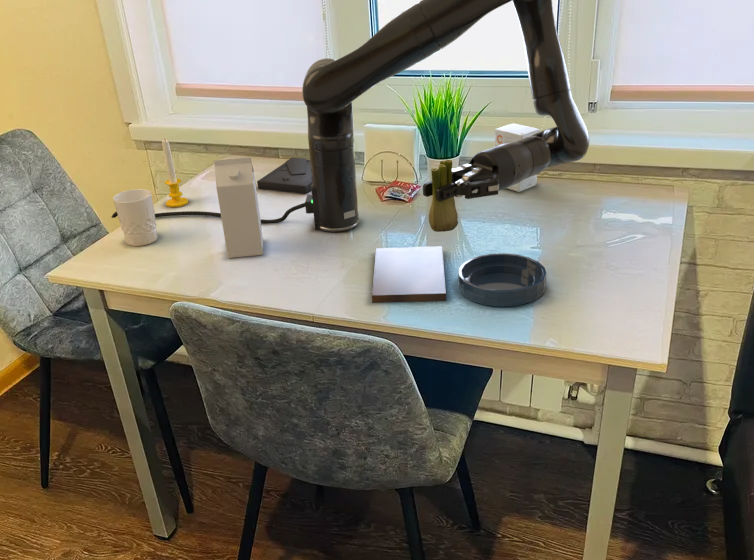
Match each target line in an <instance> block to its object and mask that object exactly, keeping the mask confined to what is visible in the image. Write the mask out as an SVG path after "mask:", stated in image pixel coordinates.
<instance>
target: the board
mask: <svg viewBox="0 0 754 560" xmlns="http://www.w3.org/2000/svg"><path fill="white" fill-rule="evenodd" d="M443 251H444V250H443V245H437V246H435V245H434V246H406V247H405V246H404V247H376V248H375V253H374V254H375V255H374V264H373V265H374V266H373V276H372V286H371V287H372V288H371V303H372V304H376V303H377V304H379V303H381V304H382V303H384V304H385V303H415V302H423V303H424V302H446V301H447V288H446V278H445V277H446V275H445V274H446V273H445V262H444V252H443Z"/></svg>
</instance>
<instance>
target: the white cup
mask: <svg viewBox="0 0 754 560" xmlns="http://www.w3.org/2000/svg"><path fill="white" fill-rule="evenodd" d="M112 201H113V204H114V207H115V210H116V211H115V212H117V214H118V216H117V218H118V221H119V224H120V228H121V230H122V233H123V236H124V240H125V243H126V244H127V245H129V246H133V247H143V246H146V245H147V246H148V245H150V244H152V243H154V242H156V241H157V240H158V238H159V237H158V231H157V222H156V219H157V218H156V217H155V214H156V213H155V207H154V206H155V205H154V202H153V196H152V191H150V190H149V189H145V188H133V189H127V190H123V191H120V192H117V193H116V194H115V195H113V197H112Z"/></svg>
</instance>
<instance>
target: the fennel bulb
mask: <svg viewBox="0 0 754 560" xmlns="http://www.w3.org/2000/svg"><path fill="white" fill-rule="evenodd" d="M452 168H453V161H452V159H446V160H440V161H439V164H438V168H435V167H434V168H430V169H431V170H430V173H431V181H432V189H433V195H432V200H431V204H430V208H429V211H428V223H429V226H430V228H431V230H432V231H434V232H435V233H441V232H444V233H445V232H451V231H453V230H454V229H455V228H457V226H458V224H459V221H458V220H459V219H458V218H459V216H458V211H457V207H456V199H455V196H454V197H452V198H449V199H446V200H444V201H441V202H440V201H437V200H436V190H437V188H440V187H442V186H445V185H448V184H450V183H452Z"/></svg>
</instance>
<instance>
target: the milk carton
mask: <svg viewBox="0 0 754 560" xmlns="http://www.w3.org/2000/svg"><path fill="white" fill-rule="evenodd" d="M213 162H214V174H215V175H214V176H215V187H216V194H217V200H218V205H219V213H221V217H220V218H221V224H222V230H223V236H224V237H223V238H224V243H225V247H226V248H225V249H226V254H227V255H226V256H227V258H229V259H233V258H242V257H243V258H245V257H254V256H262V255H263V254H264V237H263V227H262V223H261V220H260V219H261V213H260V207H259V206H260V205H259V200H258V199H259V197H258V192H257V184H256V183H257V182H256V177H255V170H254V166H253V162H252V157H251V156H247V157H246V156H245V157H233V158H224V159H214V160H213Z"/></svg>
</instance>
